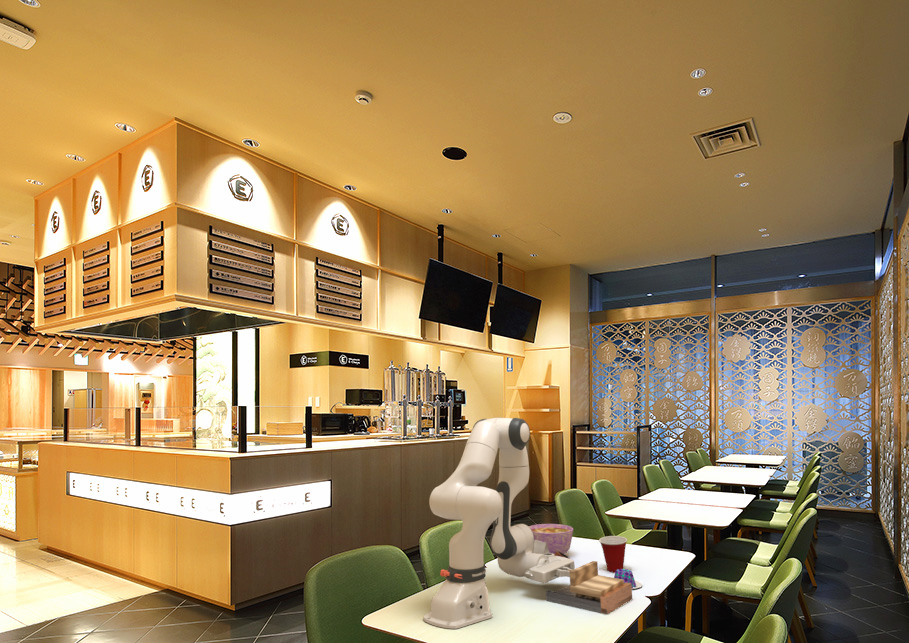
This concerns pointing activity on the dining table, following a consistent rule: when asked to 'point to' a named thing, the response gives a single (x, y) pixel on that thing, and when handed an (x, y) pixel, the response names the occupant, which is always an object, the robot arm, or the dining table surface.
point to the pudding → (627, 577)
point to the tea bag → (540, 547)
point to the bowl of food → (553, 536)
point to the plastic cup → (613, 551)
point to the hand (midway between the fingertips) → (572, 573)
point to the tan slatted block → (591, 582)
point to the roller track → (604, 606)
